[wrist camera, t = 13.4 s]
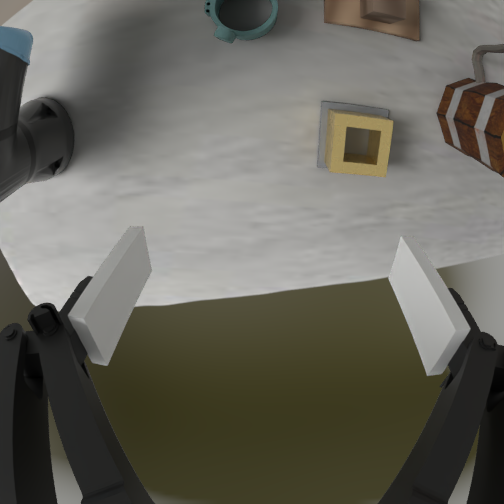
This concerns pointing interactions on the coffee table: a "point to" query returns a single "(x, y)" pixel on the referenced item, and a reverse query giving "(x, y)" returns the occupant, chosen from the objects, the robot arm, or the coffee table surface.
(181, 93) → the coffee table surface
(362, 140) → the felt mat
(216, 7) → the bracket
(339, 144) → the hollow wooden square frame
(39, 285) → the coffee table surface
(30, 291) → the coffee table surface
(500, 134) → the mug
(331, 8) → the post stand
